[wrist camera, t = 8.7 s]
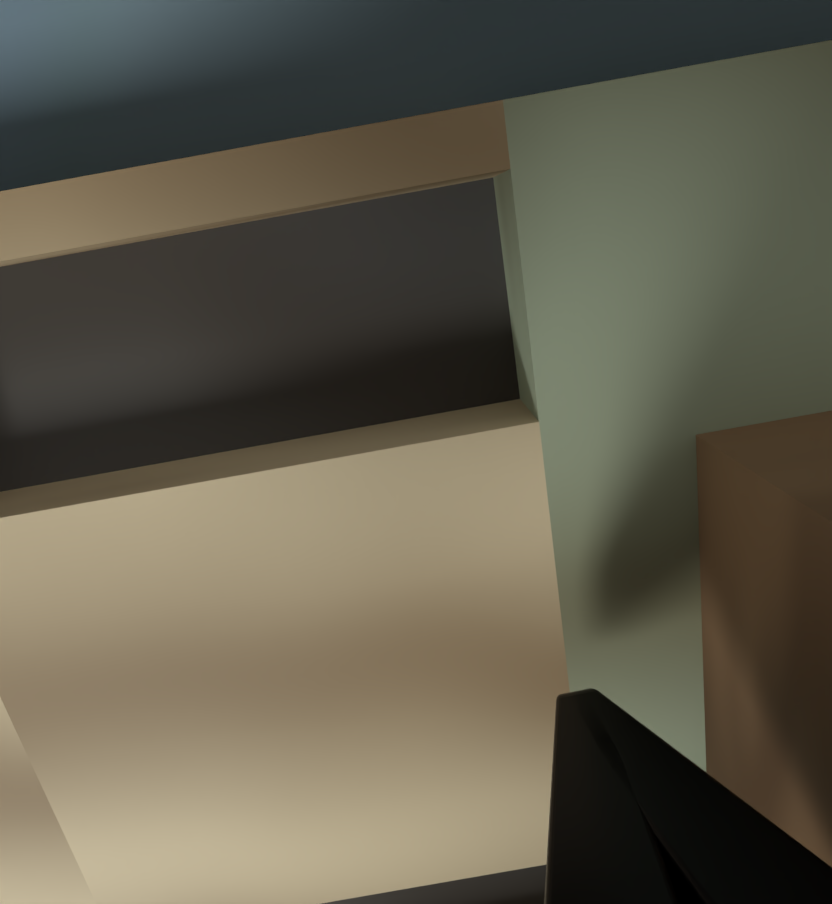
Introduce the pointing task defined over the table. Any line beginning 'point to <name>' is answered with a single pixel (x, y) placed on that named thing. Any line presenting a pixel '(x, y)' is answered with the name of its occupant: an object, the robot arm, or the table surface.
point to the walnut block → (769, 619)
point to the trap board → (382, 476)
